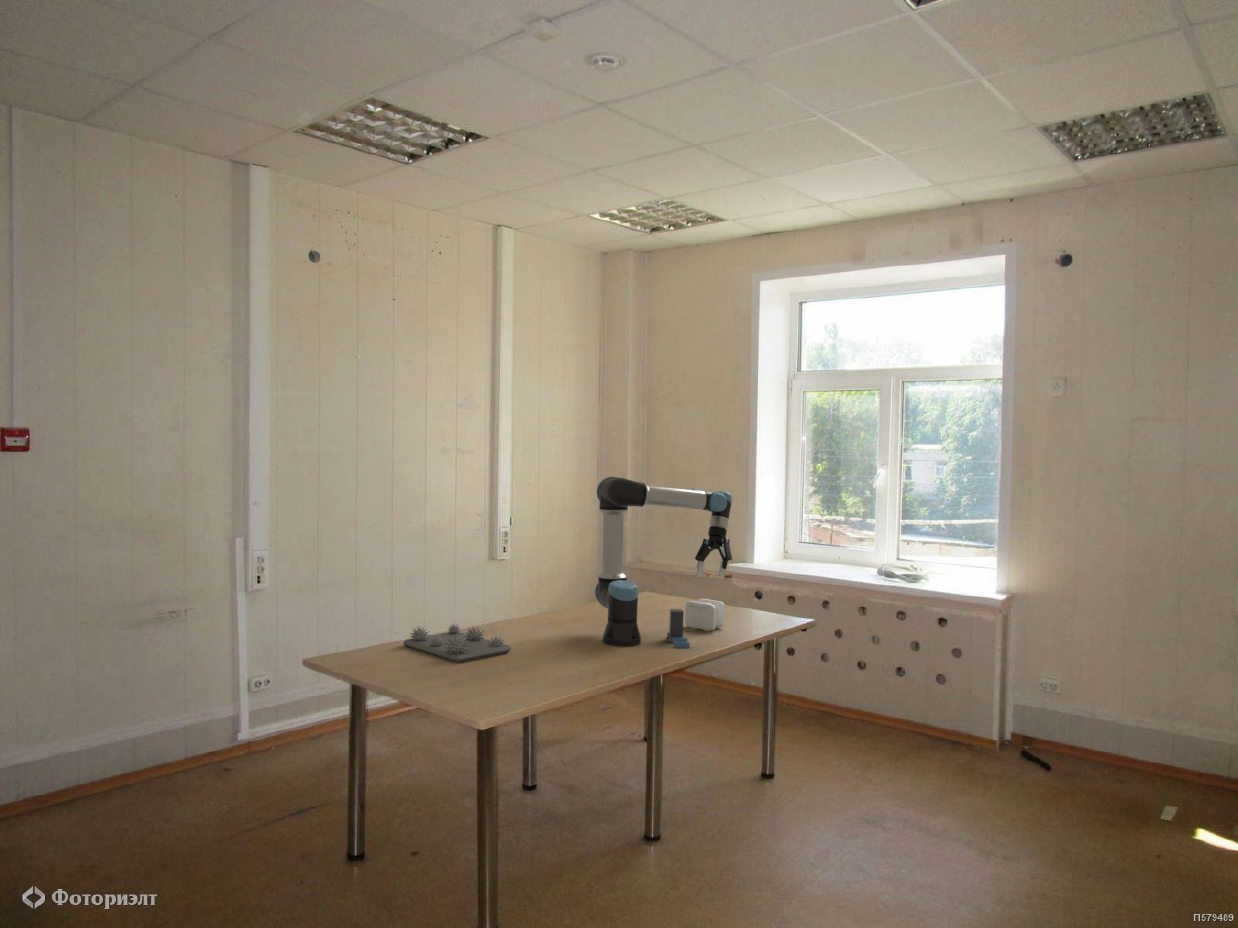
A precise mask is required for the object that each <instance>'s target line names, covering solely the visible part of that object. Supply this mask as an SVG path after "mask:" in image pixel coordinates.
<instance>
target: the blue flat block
mask: <svg viewBox="0 0 1238 928" xmlns="http://www.w3.org/2000/svg"><path fill="white" fill-rule="evenodd" d="M671 643H672V644H673V648H678V649H680V648H682V649H683V648H684V649H689V648H690V646H691V645H690V644H691V643H690V642H689V641H688V637H684V638H676V637H672V642H671Z"/></svg>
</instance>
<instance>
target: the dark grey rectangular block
mask: <svg viewBox="0 0 1238 928" xmlns="http://www.w3.org/2000/svg"><path fill="white" fill-rule="evenodd" d="M668 628H669V629H668V632H669V637H684V636H683V634H684V609H682V608H669V626H668Z"/></svg>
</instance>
